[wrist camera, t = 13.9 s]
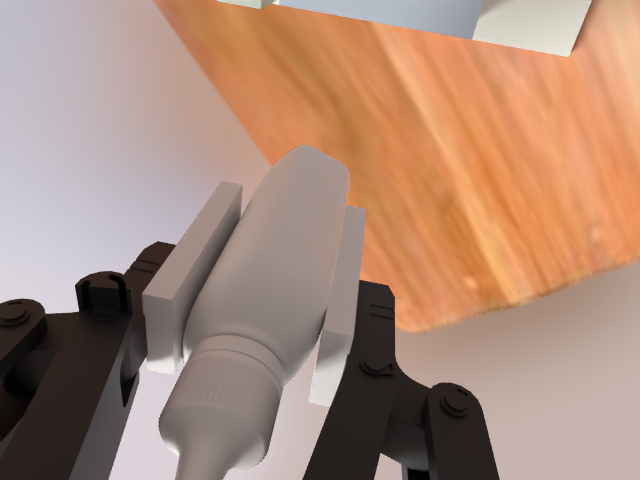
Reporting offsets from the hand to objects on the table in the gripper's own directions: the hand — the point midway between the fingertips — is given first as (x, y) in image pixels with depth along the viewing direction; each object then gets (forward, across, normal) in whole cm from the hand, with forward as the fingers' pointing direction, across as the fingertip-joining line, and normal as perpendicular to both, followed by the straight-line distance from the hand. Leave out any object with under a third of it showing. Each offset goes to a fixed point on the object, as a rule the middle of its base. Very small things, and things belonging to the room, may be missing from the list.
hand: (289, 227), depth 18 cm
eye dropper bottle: (+2, 0, 0) cm, 2 cm away
